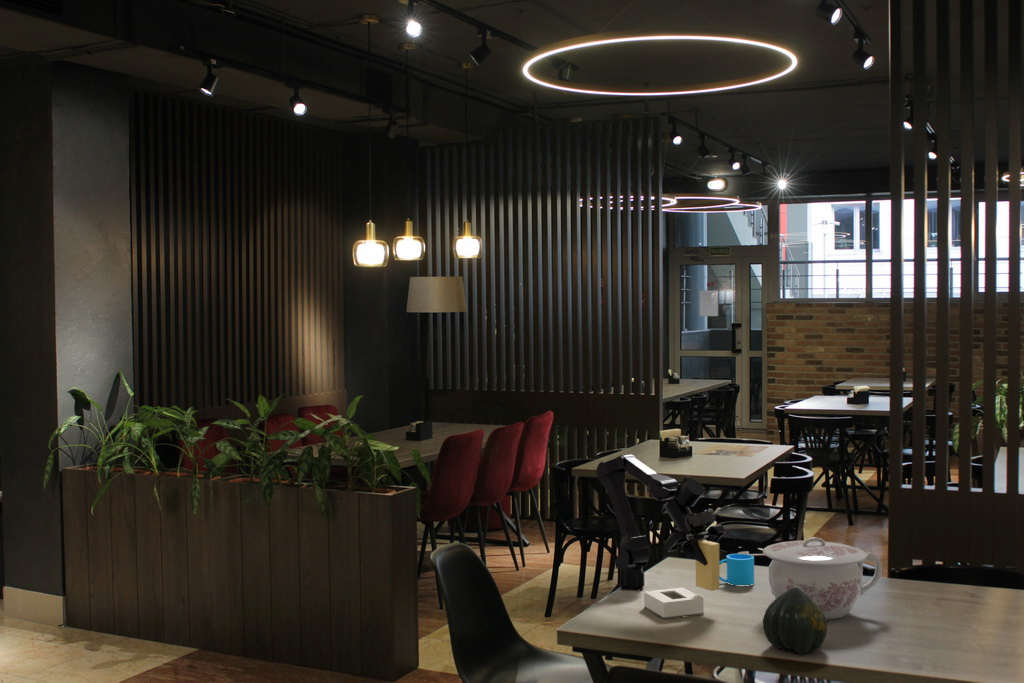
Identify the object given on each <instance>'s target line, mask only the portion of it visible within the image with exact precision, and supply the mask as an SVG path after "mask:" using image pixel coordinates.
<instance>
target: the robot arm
mask: <svg viewBox="0 0 1024 683" xmlns="http://www.w3.org/2000/svg"><path fill="white" fill-rule="evenodd" d="M595 470H596V472H595V473H596V475H597V478H598V480H599V482H600V485H601V486H602V487H603V488H604V489H605V490H606V491H607V492H608V495H609V498H610V502H611V505H612V508H613V512H614V516H615V518H616V522H617V524H618V529H619V533H620V535H621V539H620V543H619V552H620V553H619V555H618V556H617V557H616V558H615V560H614V563H615V568H616V569H619V570H620V586H619V589H620V588H621V589H620V590H625V591H626V590H628V591H629V590H631V591H642V590H643V587H645V583H646V582H645V571H643V568H644V567H645V568H646V567H647V566H648V563H649V560H650V557H651V547H650V545H649V540H648V538H647V536H646V535H641V534H640V533H639V531H638V528H637V526H636V522H635V519H634V515H633V512H632V509H631V505H630V502H629V500H628V496H627V492H626V490H625V483H626V479H627V475H626V473H628V474H629V475H631V476H632V477H634V478H635V479H636V480H638V481H639V482H640V483H642V484H643V485H644V486H646V487H647V490H648V493H649V494H650V495H651V496H652V497H653V498H654V499H655V500H656V501H658V502H659V501H660V502H661V501H667V500H668V501H667V502H666V503H663V504H662V509H661V514H662V515H663V514H668V515H669V517H670V518H671V520H672V521H673V523H674V525H673V529H674V532H672V533H671V534H670V535H669V537H668V538H667V539H666V540H665V542H664V547H665V549H666V551H667V552H668V553H671V552H675V551H677V549H678V546H677V545H681V548H680V550H679V551H680V552H681V553H684V554H685V555H687V556H690V557H691V558H692V559H694V560H695V561H696V560H697V561H699V562H700V563H702V564H703V565H707V564H708V563H707V560H706V558H705V556H704V555H703V553H702V551H701V549H700V547H699V545H698V541H699V540H707V541H711V542H715V543H718V542H719V541H720V539H722V537H723V536H724V535H725V534H726V532H727V530H726V529H725V527H724V526H723V525H722V524H717V525H710V526H709V527H708V529H707V530H706V528H707V525H709V524H713V523H715V522H714V521H715V520H716V519H717V515H716V513H715V511H714V510H713V508H707V509H706V510H704V511H702V512H699V513H696V512H692V511H691V509H690V508H691V507H694V506H695V505H696V504H697V502H698V501H699V500H700V498H701V497H702V496H703V495H704V493H705V488H704V485H703V484H702V483H700V482H699V481H697V480H695V479H693V478H692V477H691V476H685V477H684V478H683V480H682V481H681V483H679V482H678V481H677V480H676V479H675V478H672V477H670V476H669V475H664V474H660V473H657V472H656V471H655V470H653V469H652V468H650V467H649V466H647V465H646V464H645V463H643V462H642V461H640V460H639V459H637V458H636V455H634V454H630V453H629V454H621V455H618V456H617V457H615V458H612V459H610V460H607V461H600V462H599V463H598V464H597V467H596V469H595ZM677 530H678V531H677ZM704 530H706V531H704ZM675 531H676V532H675Z"/></svg>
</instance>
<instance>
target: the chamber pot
mask: <svg viewBox="0 0 1024 683" xmlns="http://www.w3.org/2000/svg"><path fill="white" fill-rule="evenodd" d="M762 554H763V555H765V556H766V557H768V558H769V559H771V561H770V564H769V566H768V567H767V568H768V581H769V585H770V589H771V594H772V595H773V597H774V600H775V599H776V598H777V597H779V596H780V595H782V594H783V593H785V592H786V591H788V590H790V589H792V588H796V587H798V588H799V589H801V590H802V591H803V592H804V593H805V594H806V595H807V596H808V597H809V598H810V599H811V600H812V601H813V602H814V603H815V604H816V605H817V606H818V607H819V608H820V609H821V610H822V612H823V613H824V615H825V617H826V621H830V620H836V619H840V618H842V617H846V616H847V615H848V614H849V613H850V612H851V611H852V610H853V608H854V606H855V605H856V603H857V602H858V600H859V599H860V598H861V597H862V595H864V594H865V593H866V592H867V591H869V589H871V588H873V587H874V586H875V585H876V584H877V583H878V581H879V580H880V579H881V577H882V574H883V564H882V562H881V560H880V558H879V557H878V556H877V554H875V553H872V552H869V551H868V552H866V550H865V551H864V550H862V549H861V548H858V547H855V546H852V545H848V544H845V543H840V542H833V541H825V540H824V539H823V538H820V537H815V536H814V537H809V538H807V539H805V540H790V541H781V542H777V543H773V544H770V545H766V547H764V548H763V549H762ZM867 561H871V562H874V567H875V568H874V569H875V571H874V574H873V576H872V577H871V578H870V579H869V580H868V582H866V583H865V584H863V583H864V582H863V580H864V579H863V578H864V577H863V575H864V574H863V572H864V567H863V566H864V563H865V562H867Z"/></svg>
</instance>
